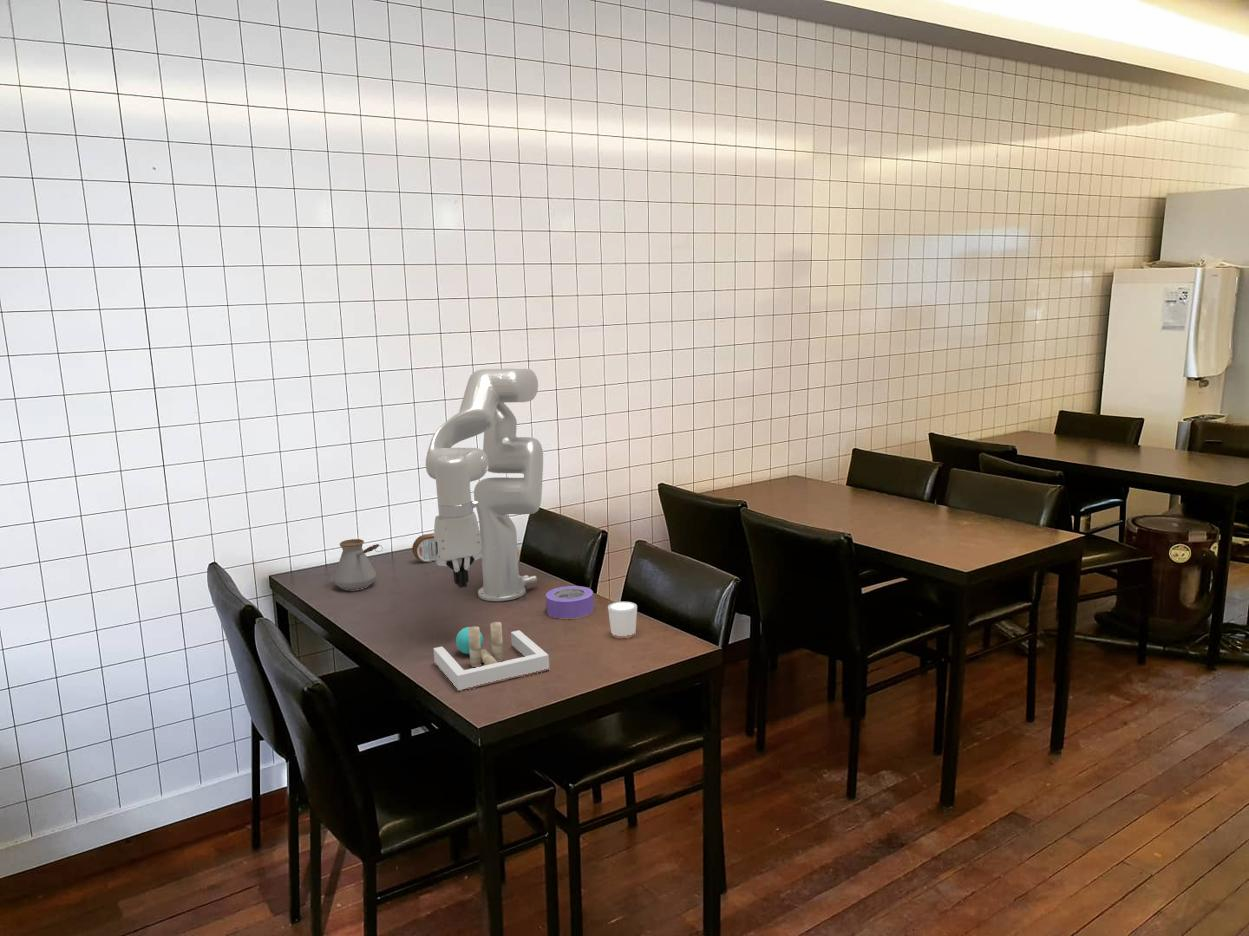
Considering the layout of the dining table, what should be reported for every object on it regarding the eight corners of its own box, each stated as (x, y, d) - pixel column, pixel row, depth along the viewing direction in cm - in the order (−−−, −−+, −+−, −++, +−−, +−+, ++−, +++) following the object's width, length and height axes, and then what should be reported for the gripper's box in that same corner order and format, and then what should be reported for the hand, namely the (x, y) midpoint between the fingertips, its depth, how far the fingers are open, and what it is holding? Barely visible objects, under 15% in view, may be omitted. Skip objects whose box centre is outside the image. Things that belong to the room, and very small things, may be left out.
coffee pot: (327, 587, 259) (322, 535, 256) (365, 577, 266) (360, 526, 263) (363, 604, 243) (358, 549, 240) (402, 593, 251) (398, 540, 248)
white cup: (612, 641, 213) (611, 612, 211) (605, 631, 219) (604, 603, 218) (641, 637, 214) (640, 608, 213) (633, 627, 221) (632, 599, 220)
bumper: (520, 644, 212) (519, 630, 212) (549, 670, 198) (548, 655, 197) (434, 663, 203) (433, 648, 203) (458, 691, 189) (457, 675, 188)
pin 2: (501, 657, 205) (499, 621, 204) (505, 661, 203) (503, 624, 202) (491, 659, 204) (488, 623, 203) (494, 663, 202) (492, 626, 201)
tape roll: (544, 621, 228) (543, 601, 227) (548, 604, 239) (548, 586, 238) (592, 619, 227) (592, 600, 226) (594, 603, 239) (594, 585, 238)
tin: (460, 554, 286) (458, 528, 285) (464, 557, 284) (462, 530, 282) (412, 563, 279) (410, 536, 277) (416, 565, 276) (414, 538, 275)
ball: (483, 633, 205) (489, 651, 209) (473, 617, 209) (479, 634, 213) (458, 646, 203) (465, 663, 207) (449, 629, 207) (455, 646, 211)
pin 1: (479, 662, 203) (477, 625, 202) (483, 666, 201) (480, 629, 199) (469, 664, 202) (466, 627, 200) (472, 668, 200) (470, 631, 198)
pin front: (487, 647, 205) (499, 660, 198) (488, 657, 206) (501, 671, 198) (476, 650, 204) (488, 664, 197) (478, 660, 205) (490, 674, 197)
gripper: (481, 500, 217) (486, 574, 222) (418, 511, 211) (425, 587, 215) (492, 508, 211) (497, 584, 215) (427, 519, 204) (434, 597, 208)
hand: (461, 585), depth 215 cm, fingers closed
